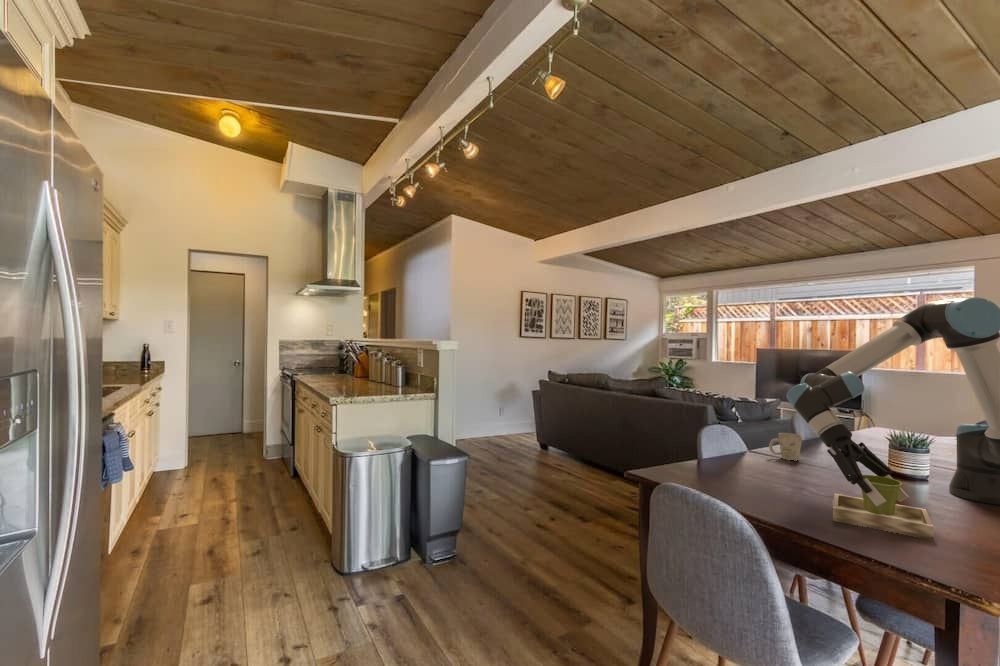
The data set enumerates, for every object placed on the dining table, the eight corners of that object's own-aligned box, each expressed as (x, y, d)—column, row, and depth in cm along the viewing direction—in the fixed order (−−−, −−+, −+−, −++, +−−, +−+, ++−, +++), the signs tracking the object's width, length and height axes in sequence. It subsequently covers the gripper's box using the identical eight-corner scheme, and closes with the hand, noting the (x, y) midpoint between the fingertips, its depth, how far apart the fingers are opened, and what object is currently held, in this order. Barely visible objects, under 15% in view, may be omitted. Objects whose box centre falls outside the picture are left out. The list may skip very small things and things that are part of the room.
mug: (806, 461, 188) (806, 437, 188) (775, 461, 188) (775, 436, 188) (794, 456, 196) (794, 433, 196) (764, 456, 196) (764, 432, 197)
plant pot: (889, 520, 119) (889, 486, 120) (849, 508, 128) (849, 476, 128) (909, 515, 123) (909, 483, 123) (869, 504, 132) (869, 473, 132)
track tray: (925, 522, 125) (925, 509, 125) (933, 541, 113) (933, 526, 113) (834, 505, 137) (834, 493, 138) (832, 520, 126) (832, 507, 126)
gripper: (844, 434, 144) (905, 503, 129) (796, 439, 136) (855, 513, 121) (863, 420, 139) (928, 489, 125) (815, 424, 131) (879, 499, 116)
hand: (892, 501), depth 123 cm, fingers closed on plant pot, 9 cm apart
